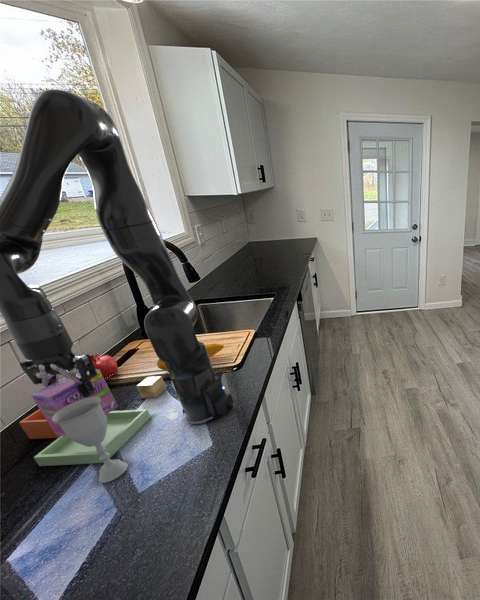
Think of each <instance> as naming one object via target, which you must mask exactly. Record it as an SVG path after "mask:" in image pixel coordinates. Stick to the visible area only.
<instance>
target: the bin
mask: <svg viewBox="0 0 480 600" xmlns="http://www.w3.org/2000/svg"><path fill="white" fill-rule="evenodd" d="M18 423H19V424H18V425H20V427H21V428H22V429H23V431H24V432H25V434H26V435H27V437H28V438H29V439H30V440H39V439H41V440H42V439H58V438H59V437H60V435H56V434H55V433H54V431H53V430H52V428H51V426H50V425H49V423H48V422H47V420H46V418H45V417H44V415H43V414H42V412H41V411H40V409H39V408H38V409H37V410H36V411H34V412H33V413H31V414H30V415H28V416H27V417H25V418H23V419H22V420H21V421H19V422H18Z"/></svg>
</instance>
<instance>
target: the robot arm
mask: <svg viewBox="0 0 480 600" xmlns="http://www.w3.org/2000/svg"><path fill="white" fill-rule="evenodd" d="M120 137H121V136H120V134H119V130H118V129H117V125H116V124H115V121H114V119H113V118H112V117H111V115H110V114H109V113H108V112H107V111H106V110H105V109H104V108H103V107H102V106H100V105H99V104H98V103H96V102H94V101H93V100H90V99H89V98H88V99H87V98H85V97H83V96H80V95H78V94H75V93H73V92H70V91H67V90H64V89H56V88H55V89H52V88H51V89H46V90H44V91H42V92H40V93H39V94H38V95H36V97H35V98H34V100H33V102H32V105H31V107H30V110H29V114H28V119H27V123H26V129H25V132H24V136H23V140H22V143H21V145H20V146H21V147H20V150H19V154H18V157H17V160H16V162H15V166H14V169H13V171H12V174H11V176H10V179H9V180H8V183H7V185H6V186H5V189H4V191H3V192H2V194H1V196H0V315H1V318H2V319H3V321H4V322H5V324H6V327H7V330H8V332H9V334H10V336H11V337H12V339H13V341H14V342H15V344H16V345H17V347H18V349H19V351H20V352H21V355H22V356H23V357H24V359H25V360H24V361H22V362H20V363H19V366H20V367H21V369H22V370H23V372H24V373H25V374H26V376H27V377H28V378H29V379H30V380H31V382H32V383H33V384H34V385H42V386H43V387H47V386H49V385H51V384H53V383H55V382H57V381H59V375H61V376H62V377H63V378H64V377H65V378H67V379H72V380H73V381H74V382H75V383H76V384H78V385H77V387H78V389H79V390H80V392H81V394H82V396H83V397H89V396H90V395H91V394H93V393H94V387H93V386H92V383H91V382H90V379H92V378H93V377H95V376H96V375H97V372H96V370H95V367H94V364H93V362H92V359H91V356H90V354H89V353H86V354H84V355H77V354H76V353H74V352H73V351H72V348H73V346H74V341H73V340H72V338H71V336H70V335H69V332H68V330H67V329H66V327H65V325H64V322H63V320H62V319H61V317H60V316H59V314H58V313H57V312H56V311H55V309H54V308H53V305H52V303H51V302H50V300H49V298H48V296H47V294H46V292H45V290H43V288H42V287H40V286H38V285H35V284H26V282H24V280H22V278H21V277H20V276H19V274H23V273H25V272H27V271H28V270H30V269H31V268H32V267H33V266H34V265H35V264H36V262H37V261H38V259H39V257H40V253H41V249H42V245H43V239H44V238H43V237H44V235H45V234H46V231H47V230H48V228H49V227H50V225H51V223H52V221H53V220H54V218H55V216H56V214H57V212H58V211H59V207H60V203H61V199H62V188H63V183H64V178H65V175H66V173H67V171H68V168H69V166H70V165H71V163H72V162H73V161H74V160H75V158H77V156H78V157H79V159H80V160H81V162H82V164H83V166H84V167H85V169H86V171H87V174H88V176H89V178H90V181H91V185H92V191H93V199H94V209H95V214H96V218H97V221H98V225H99V226H100V229H101V230H102V232H103V234H104V237H105V238H106V241H107V242H108V244H109V246H110V248H111V249H112V251H113V252H114V254H115V255H116V256H117V258H118V259H119V260H120V261H121V262H122V263H123V264H124V265H126V267H127V268H128V269H130V270H131V271H132V273H134V274H135V275H136V276H137V277H138V278H139V279H140V280H141V282H142V283H143V285H144V286H145V288H146V290H147V292H148V294H149V296H150V299H151V302H152V305H153V307H152V308H151V309H150V310H149V311H148V312H147V314H146V315H145V317H144V320H143V326H144V330H145V333H146V335H147V338H148V340H149V342H150V344H151V347H152V348H153V351H154V352H155V354H156V356H157V357H158V360H159V359H160V360H161V361H163V362H164V364H165V366H166V368H167V370H166V371H167V373H168V376H169V378H170V381H171V383H172V385H173V388H174V391H175V393H176V396H177V397H178V400H179V402H180V405H181V407H182V415H184V416H185V418H186V421H187V423H188V424H191V425H202V424H205V423H206V424H207V423H209V422H210V421H214V420H218V419H219V418H220V416H221V415H226V413H228V412H230V411H231V410H233V409H234V404H233V403H234V399H233V396H232V393H231V392H226V391H225V386H223V383H222V379H221V377H220V376H216V374H215V371H214V368H213V364H212V361H211V357H209V356H208V352H207V349H206V347H205V345H206V344H205V343H204V342H202V341H199V340H198V338H197V335H196V333H195V330H194V326H195V324H196V322H197V320H198V316H199V312H198V308H197V306H196V303H195V301H194V300H193V299H192V297H191V295H190V293H189V292H188V290H187V289H186V287H185V285H184V284H183V282H182V280H181V278H180V277H179V275H178V273H177V270H176V267H175V265H174V262H173V260H172V257H171V255H170V253H169V250H168V248H167V246H166V243H165V241H164V238H163V236H162V233H161V232H160V229H159V227H158V224H157V222H156V221H155V218H154V216H153V214H152V212H151V210H150V208H149V206H148V204H147V201H146V200H145V197H144V194H143V193H142V191H141V188H140V187H139V185H138V183H137V181H136V179H135V177H134V175H133V173H132V170H131V167H130V165H129V162H128V159H127V155H126V153H125V150H124V147H123V143H122V141H121V138H120ZM74 369H75V370H74ZM73 370H74V371H73ZM71 371H72V372H71ZM88 371H89V374H88V373H87V372H88ZM37 374H39V377H38V375H37ZM76 374H80V376H81V378H79V377H78V376H76Z"/></svg>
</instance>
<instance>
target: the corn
mask: <svg viewBox="0 0 480 600" xmlns="http://www.w3.org/2000/svg"><path fill="white" fill-rule="evenodd" d="M204 345H205V347H206V349H207V352H208V356H209V358H211V357H213V356H214V355H217V353H219V352H222V350H223V349H224V347H225V346H224V344H221V343H209V344H208V343H207V344H204ZM156 365H157V368H158V369H160V370H163V371H167V368H166V366H165V364H164V362H163V361H161V360H160V359H159V358H158V360H157V362H156Z"/></svg>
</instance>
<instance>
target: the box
mask: <svg viewBox="0 0 480 600" xmlns="http://www.w3.org/2000/svg"><path fill="white" fill-rule="evenodd" d="M95 370H96V372H97V375H96V376H95V377H93V378H92V379H90V382H91V383H92V386H93V387H94V393H93V394H91V395H90V396H89V397H83V396H82V394H81V392H80V390H79V389H78V387H77V385H78V384H76V383H75V382H74V381H73V380H72V379H67V378H65V377H64V376H63V378H61V379H58V380H57V382H55V383H53V384H51V385H49V386H45V387H44V388H41V389H40V390H38V391H36V392H34V393H32V394H31V398H32V399H33V401H34V403H35V404H36V406H37V408H38V410H39V409H40V411H41V412H42V414H43V415H44V417H45V418H46V420H47V422H48V423H49V425H50V426H51V428H52V430H53V431H54V433H55V434H56V435H60V436H66V434H65V432H64V431H63V429H62V428H61V426H60V424H59V423H57V422H55V421H52V417H53V416H54V414H56V413H57V412H58V411H59V410H61V409H62V408H64V407H66V406H68V405H70V404H72V403H74V402H76V401H79V400H82V399H85V398H90V397H99V398H101V403H100V406H101V408H102V410H103V411H104V413H105V415H107V414H108V413H110V412H111V411H115V409H117V408H118V407H119V405H118V404H117V401H116V400H115V398H114V395H113V393H112V392H111V390H110V388H109V386H108V384H107V382H106V380H104V378H103V376H102V374H101V372H100V370H98V369H95ZM87 373H88V374H89V371H88V372H87ZM76 376H78V377H79V378H81V376H80V374H76ZM66 437H67V436H66Z"/></svg>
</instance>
